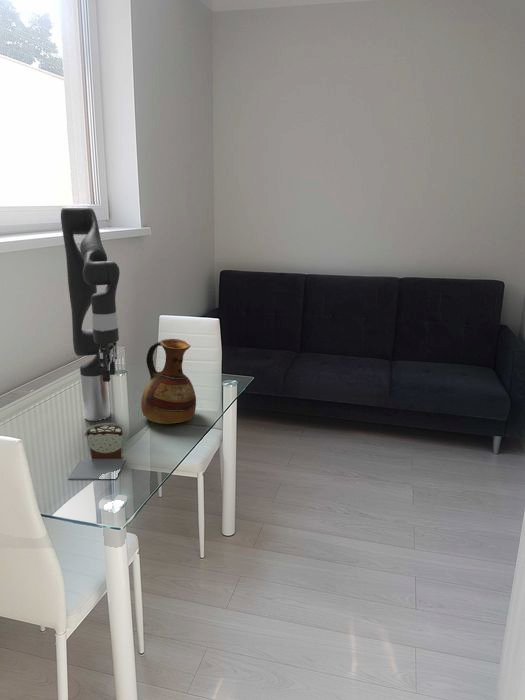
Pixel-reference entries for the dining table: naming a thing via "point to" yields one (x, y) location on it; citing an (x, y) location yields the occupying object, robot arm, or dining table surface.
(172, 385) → the ceramic pitcher
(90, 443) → the food container
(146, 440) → the dining table surface
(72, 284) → the robot arm
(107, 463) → the mat
